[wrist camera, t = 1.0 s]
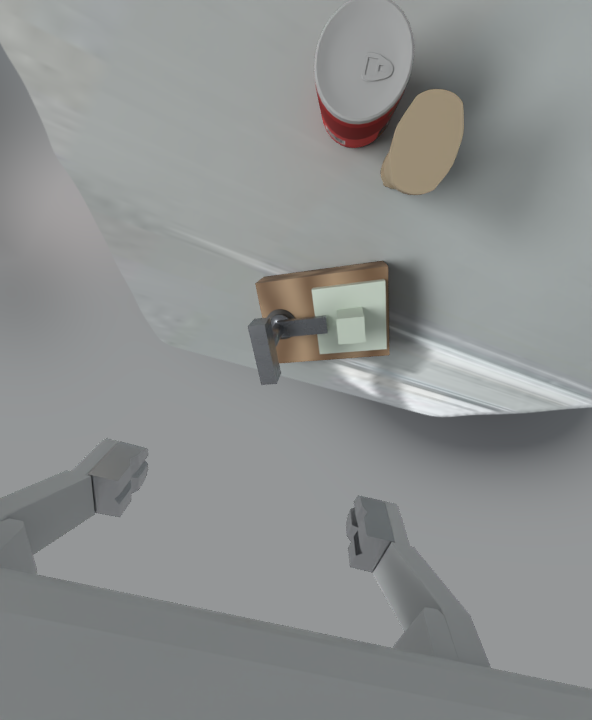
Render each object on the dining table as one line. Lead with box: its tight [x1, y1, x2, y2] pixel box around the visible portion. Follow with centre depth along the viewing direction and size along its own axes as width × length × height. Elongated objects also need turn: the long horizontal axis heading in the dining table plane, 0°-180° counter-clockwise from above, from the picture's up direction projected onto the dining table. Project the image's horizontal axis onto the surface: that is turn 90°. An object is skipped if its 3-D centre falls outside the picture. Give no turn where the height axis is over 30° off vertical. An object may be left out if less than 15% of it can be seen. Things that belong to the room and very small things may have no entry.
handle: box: [381, 89, 464, 195], centre depth 28 cm, size 5×6×15 cm
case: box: [255, 261, 389, 363], centre depth 41 cm, size 17×12×5 cm
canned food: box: [314, 0, 414, 148], centre depth 28 cm, size 8×8×11 cm
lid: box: [312, 279, 387, 354], centre depth 36 cm, size 9×9×5 cm
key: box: [248, 314, 328, 385], centre depth 35 cm, size 8×7×10 cm
